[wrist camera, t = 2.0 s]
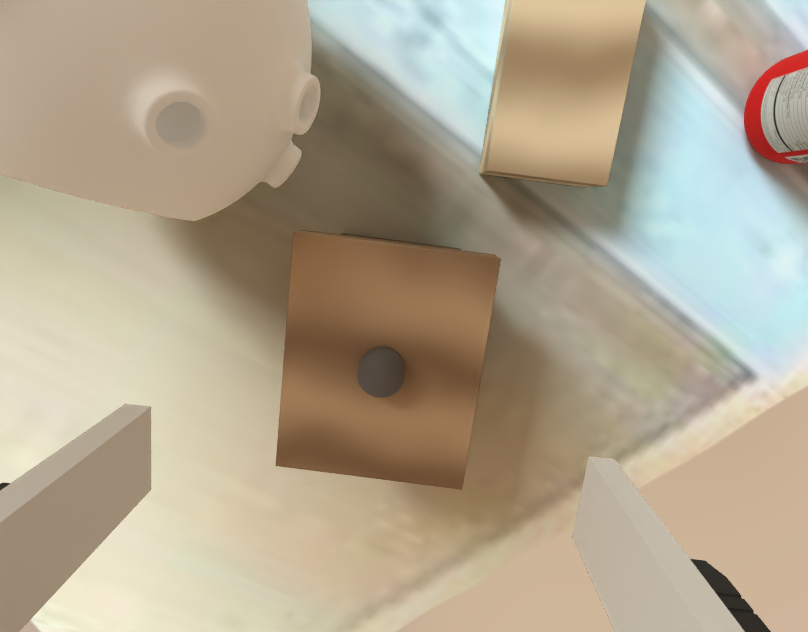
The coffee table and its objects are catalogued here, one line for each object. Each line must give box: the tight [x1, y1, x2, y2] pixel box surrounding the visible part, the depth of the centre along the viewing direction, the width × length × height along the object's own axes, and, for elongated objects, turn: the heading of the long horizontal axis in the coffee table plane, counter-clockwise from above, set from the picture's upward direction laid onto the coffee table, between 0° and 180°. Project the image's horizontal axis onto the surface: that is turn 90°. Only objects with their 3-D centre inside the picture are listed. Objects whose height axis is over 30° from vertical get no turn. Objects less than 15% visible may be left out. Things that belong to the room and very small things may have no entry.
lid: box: [276, 230, 501, 489], centre depth 28 cm, size 13×10×3 cm
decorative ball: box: [0, 0, 321, 221], centre depth 23 cm, size 20×17×20 cm
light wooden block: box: [479, 0, 646, 187], centre depth 30 cm, size 12×7×4 cm, turn 173°
